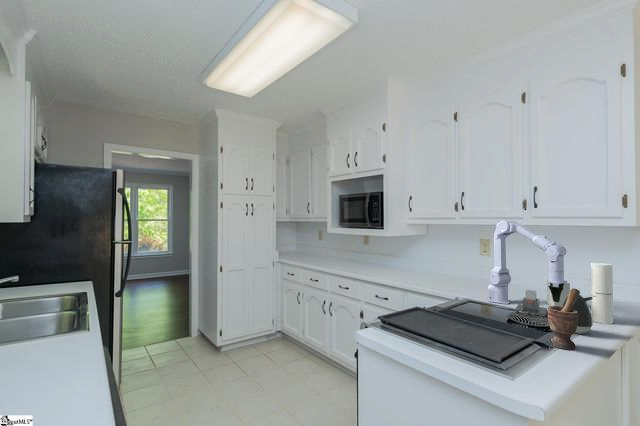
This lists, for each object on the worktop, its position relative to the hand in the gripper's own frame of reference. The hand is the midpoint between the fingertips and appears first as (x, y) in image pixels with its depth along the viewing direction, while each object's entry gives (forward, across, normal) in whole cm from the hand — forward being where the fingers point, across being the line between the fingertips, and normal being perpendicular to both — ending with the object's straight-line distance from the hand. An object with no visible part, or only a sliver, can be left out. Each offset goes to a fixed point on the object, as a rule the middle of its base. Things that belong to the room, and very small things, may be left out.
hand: (556, 300), depth 151 cm
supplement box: (+7, +20, 0) cm, 21 cm away
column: (+6, 0, +10) cm, 11 cm away
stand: (+7, 0, +10) cm, 12 cm away
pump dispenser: (+7, -21, -7) cm, 23 cm away
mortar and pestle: (+7, -41, -4) cm, 41 cm away
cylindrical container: (+7, +2, -16) cm, 18 cm away
